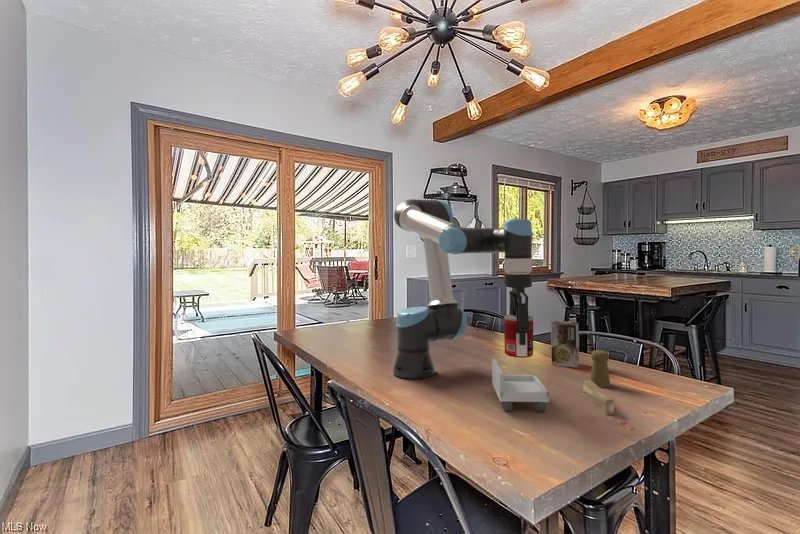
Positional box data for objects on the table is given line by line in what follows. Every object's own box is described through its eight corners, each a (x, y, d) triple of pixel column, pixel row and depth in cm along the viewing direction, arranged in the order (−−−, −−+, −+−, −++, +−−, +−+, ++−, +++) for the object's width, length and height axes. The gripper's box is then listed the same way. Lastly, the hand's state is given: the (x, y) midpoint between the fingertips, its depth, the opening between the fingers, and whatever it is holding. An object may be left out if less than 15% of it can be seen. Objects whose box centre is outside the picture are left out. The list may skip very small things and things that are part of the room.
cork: (609, 382, 130) (610, 349, 129) (611, 388, 124) (611, 353, 124) (589, 380, 132) (589, 347, 132) (589, 386, 127) (589, 352, 126)
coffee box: (579, 364, 151) (579, 322, 150) (576, 368, 145) (576, 325, 145) (554, 360, 156) (554, 320, 155) (550, 365, 150) (550, 322, 150)
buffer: (605, 414, 105) (605, 399, 105) (583, 392, 121) (583, 379, 121) (613, 414, 105) (613, 399, 105) (590, 392, 121) (590, 380, 121)
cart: (500, 411, 108) (499, 373, 108) (492, 391, 123) (492, 358, 123) (549, 412, 107) (549, 374, 106) (535, 392, 122) (535, 359, 121)
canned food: (535, 358, 110) (534, 319, 109) (505, 357, 111) (505, 318, 111) (531, 351, 117) (531, 314, 117) (503, 350, 119) (503, 314, 118)
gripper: (541, 275, 103) (541, 362, 104) (523, 271, 123) (524, 343, 124) (511, 275, 104) (512, 362, 104) (499, 271, 124) (499, 343, 125)
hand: (518, 351), depth 114 cm, fingers closed on canned food, 8 cm apart
